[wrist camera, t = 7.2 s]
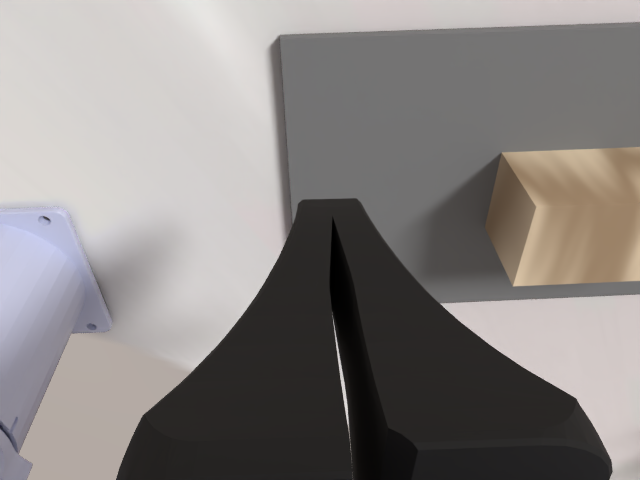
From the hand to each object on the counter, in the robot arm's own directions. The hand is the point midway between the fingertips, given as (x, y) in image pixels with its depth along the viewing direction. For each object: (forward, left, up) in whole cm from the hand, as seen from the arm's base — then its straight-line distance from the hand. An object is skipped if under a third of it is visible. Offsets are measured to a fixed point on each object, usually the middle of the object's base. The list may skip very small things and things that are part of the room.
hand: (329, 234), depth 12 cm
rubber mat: (+10, -6, -10) cm, 15 cm away
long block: (+8, -6, -8) cm, 12 cm away
